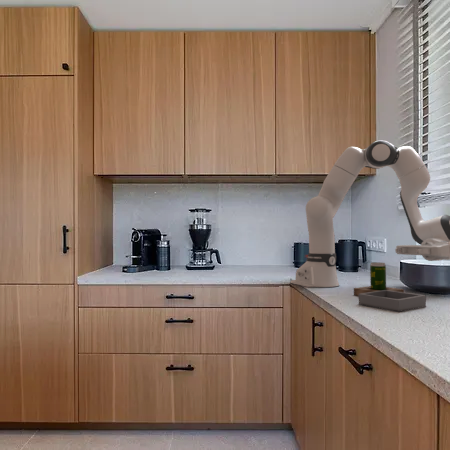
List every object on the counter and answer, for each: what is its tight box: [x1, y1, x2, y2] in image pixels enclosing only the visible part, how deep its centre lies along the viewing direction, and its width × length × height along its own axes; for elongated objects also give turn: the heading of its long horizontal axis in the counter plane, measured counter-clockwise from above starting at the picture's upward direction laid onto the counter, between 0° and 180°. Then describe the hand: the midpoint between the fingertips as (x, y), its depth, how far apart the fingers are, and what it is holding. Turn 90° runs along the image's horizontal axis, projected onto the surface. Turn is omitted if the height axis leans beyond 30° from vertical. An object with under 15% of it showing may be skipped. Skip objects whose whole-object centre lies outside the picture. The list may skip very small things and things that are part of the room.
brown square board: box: [353, 285, 405, 297], centre depth 137 cm, size 12×12×2 cm
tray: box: [358, 290, 427, 313], centre depth 118 cm, size 14×14×4 cm
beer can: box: [369, 262, 387, 291], centre depth 137 cm, size 5×5×12 cm
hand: (406, 251), depth 142 cm, fingers open, 8 cm apart
